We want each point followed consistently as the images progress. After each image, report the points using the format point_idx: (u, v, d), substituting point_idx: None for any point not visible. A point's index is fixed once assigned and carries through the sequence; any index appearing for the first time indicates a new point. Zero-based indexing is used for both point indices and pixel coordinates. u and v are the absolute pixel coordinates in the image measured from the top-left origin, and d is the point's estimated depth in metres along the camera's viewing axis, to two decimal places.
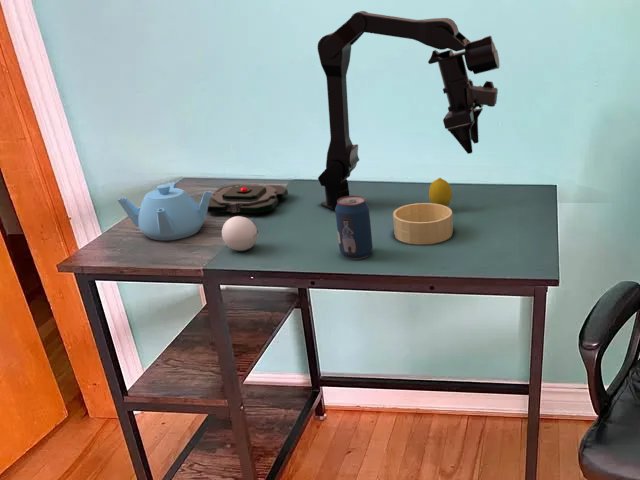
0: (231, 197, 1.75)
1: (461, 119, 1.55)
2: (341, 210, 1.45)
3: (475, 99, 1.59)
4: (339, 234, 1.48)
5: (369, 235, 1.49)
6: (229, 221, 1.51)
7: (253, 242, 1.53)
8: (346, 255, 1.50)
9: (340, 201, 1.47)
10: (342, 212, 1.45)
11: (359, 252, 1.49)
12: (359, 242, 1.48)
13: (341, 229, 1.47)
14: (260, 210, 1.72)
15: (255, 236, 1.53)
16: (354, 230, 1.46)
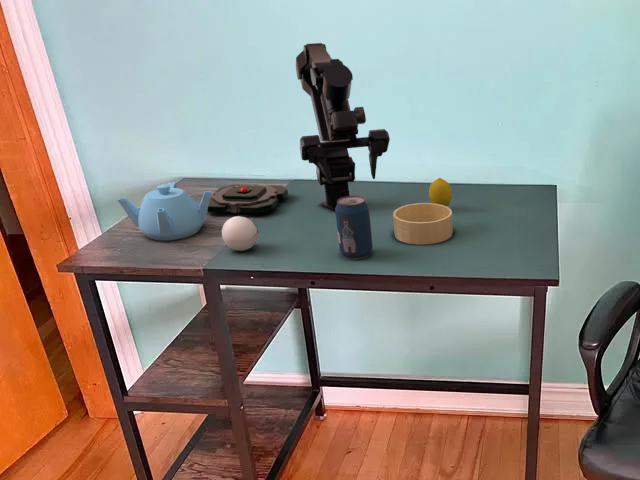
0: (231, 197, 1.75)
1: (300, 145, 1.50)
2: (341, 210, 1.45)
3: (330, 126, 1.50)
4: (339, 234, 1.48)
5: (369, 235, 1.49)
6: (229, 221, 1.51)
7: (253, 242, 1.53)
8: (346, 255, 1.50)
9: (340, 201, 1.47)
10: (342, 212, 1.45)
11: (359, 252, 1.49)
12: (359, 242, 1.48)
13: (341, 229, 1.47)
14: (260, 210, 1.72)
15: (255, 236, 1.53)
16: (354, 230, 1.46)
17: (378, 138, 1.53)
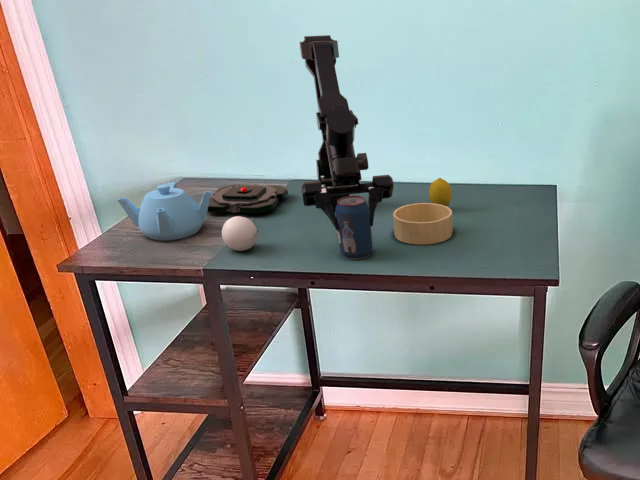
0: (231, 197, 1.75)
1: (302, 191, 1.47)
2: (341, 210, 1.45)
3: (333, 172, 1.46)
4: (339, 234, 1.48)
5: (369, 235, 1.49)
6: (229, 221, 1.51)
7: (253, 242, 1.53)
8: (346, 255, 1.50)
9: (340, 201, 1.47)
10: (342, 212, 1.45)
11: (359, 252, 1.49)
12: (359, 242, 1.48)
13: (341, 229, 1.47)
14: (260, 210, 1.72)
15: (255, 236, 1.53)
16: (354, 230, 1.46)
17: (381, 184, 1.49)
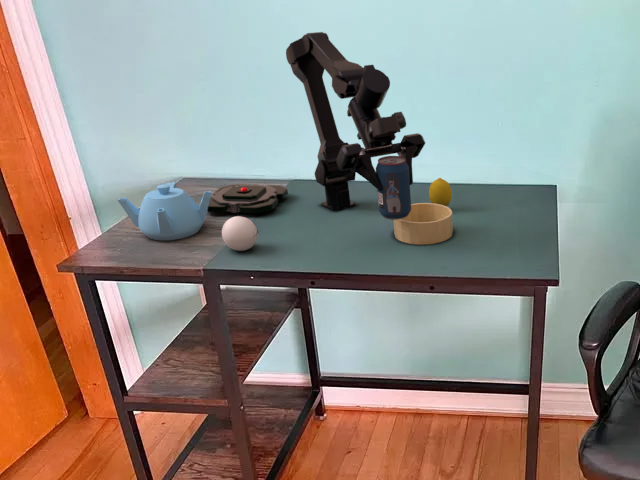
0: (231, 197, 1.75)
1: (341, 155, 1.45)
2: (386, 170, 1.46)
3: (370, 133, 1.47)
4: (382, 195, 1.49)
5: None
6: (229, 221, 1.51)
7: (253, 242, 1.53)
8: (390, 216, 1.51)
9: (380, 162, 1.48)
10: (387, 172, 1.46)
11: (403, 211, 1.51)
12: (403, 201, 1.50)
13: (386, 189, 1.48)
14: (260, 210, 1.72)
15: (255, 236, 1.53)
16: (399, 189, 1.48)
17: (415, 142, 1.51)
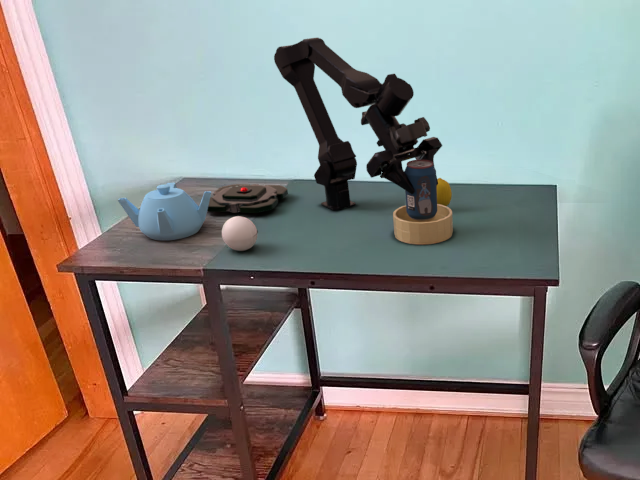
0: (231, 197, 1.75)
1: (374, 162, 1.50)
2: (419, 173, 1.53)
3: (398, 139, 1.52)
4: (414, 198, 1.55)
5: None
6: (229, 221, 1.51)
7: (253, 242, 1.53)
8: (421, 217, 1.58)
9: (410, 166, 1.54)
10: (420, 175, 1.53)
11: (433, 211, 1.58)
12: (433, 202, 1.57)
13: (418, 192, 1.55)
14: (260, 210, 1.72)
15: (255, 236, 1.53)
16: (431, 190, 1.55)
17: (435, 145, 1.59)
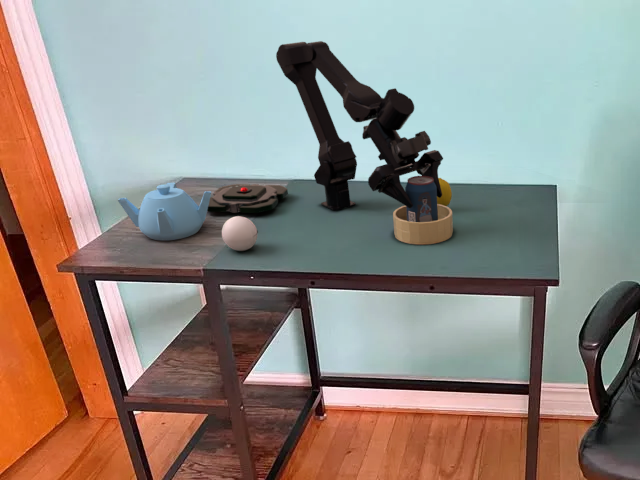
0: (231, 197, 1.75)
1: (376, 176, 1.52)
2: (420, 189, 1.54)
3: (399, 153, 1.54)
4: (415, 213, 1.57)
5: None
6: (229, 221, 1.51)
7: (253, 242, 1.53)
8: None
9: (410, 182, 1.56)
10: (421, 191, 1.54)
11: None
12: (434, 217, 1.59)
13: (419, 208, 1.56)
14: (260, 210, 1.72)
15: (255, 236, 1.53)
16: (431, 206, 1.57)
17: (436, 159, 1.60)
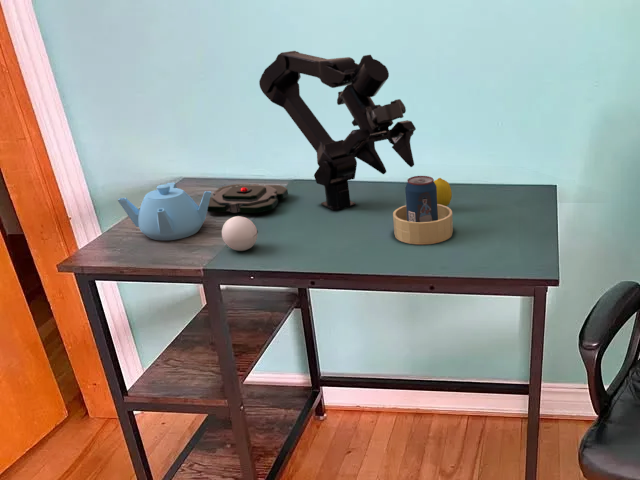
0: (231, 197, 1.75)
1: (351, 139, 1.53)
2: (420, 189, 1.54)
3: (374, 119, 1.55)
4: (415, 213, 1.57)
5: None
6: (229, 221, 1.51)
7: (253, 242, 1.53)
8: None
9: (410, 182, 1.56)
10: (421, 191, 1.54)
11: None
12: (434, 217, 1.59)
13: (419, 208, 1.56)
14: (260, 210, 1.72)
15: (255, 236, 1.53)
16: (431, 206, 1.57)
17: (409, 128, 1.63)
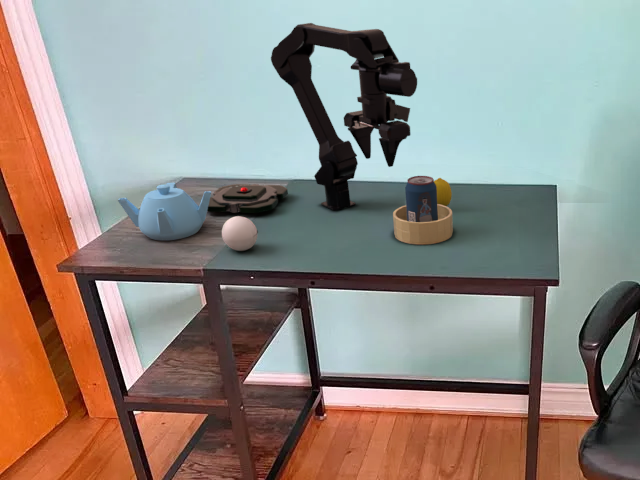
0: (231, 197, 1.75)
1: (404, 131, 1.57)
2: (420, 189, 1.54)
3: (396, 113, 1.61)
4: (415, 213, 1.57)
5: None
6: (229, 221, 1.51)
7: (253, 242, 1.53)
8: None
9: (410, 182, 1.56)
10: (421, 191, 1.54)
11: None
12: (434, 217, 1.59)
13: (419, 208, 1.56)
14: (260, 210, 1.72)
15: (255, 236, 1.53)
16: (431, 206, 1.57)
17: None
